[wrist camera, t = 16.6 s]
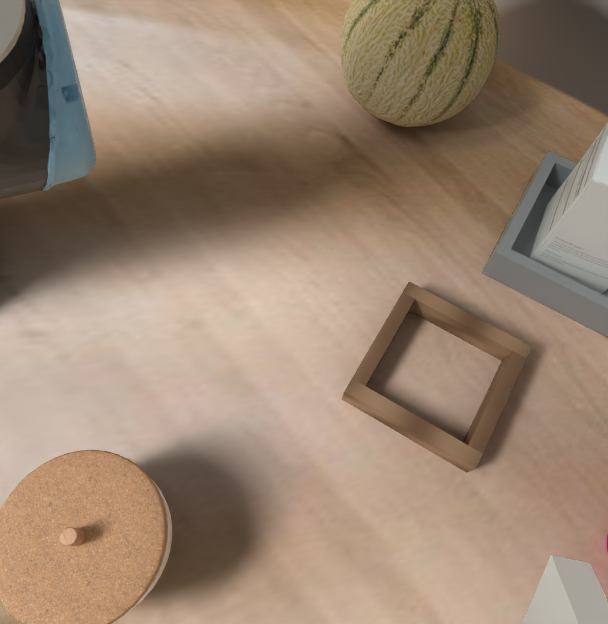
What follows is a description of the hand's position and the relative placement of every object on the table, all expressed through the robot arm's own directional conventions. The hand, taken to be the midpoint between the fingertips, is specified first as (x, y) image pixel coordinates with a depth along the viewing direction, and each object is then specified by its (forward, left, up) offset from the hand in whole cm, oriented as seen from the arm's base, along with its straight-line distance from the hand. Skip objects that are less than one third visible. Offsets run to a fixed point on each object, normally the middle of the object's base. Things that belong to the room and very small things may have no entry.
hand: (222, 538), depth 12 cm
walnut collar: (+5, +19, -33) cm, 38 cm away
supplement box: (+10, +37, -32) cm, 50 cm away
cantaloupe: (-11, +45, -33) cm, 57 cm away
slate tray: (+11, +37, -33) cm, 50 cm away
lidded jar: (-10, -5, -33) cm, 35 cm away
